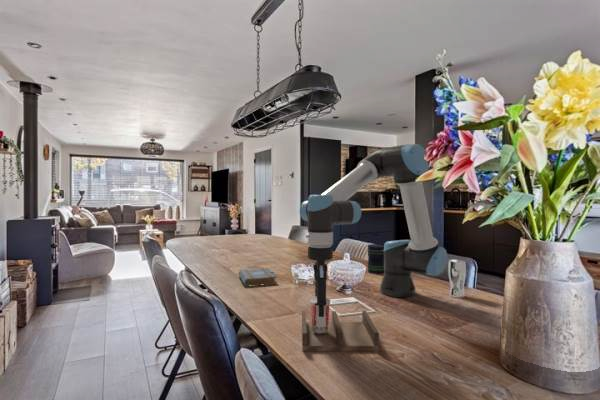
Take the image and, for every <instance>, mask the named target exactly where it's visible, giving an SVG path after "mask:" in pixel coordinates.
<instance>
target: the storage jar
mask: <svg viewBox="0 0 600 400" xmlns="http://www.w3.org/2000/svg"><path fill="white" fill-rule="evenodd" d="M367 257H368V258H367V273H369V274H372V273H373V275H384V274H383V273H384V244H378V243H377V244H376V243H375V244H374V243H373V244H372V243H371V244H368V245H367Z"/></svg>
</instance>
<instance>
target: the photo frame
mask: <svg viewBox="0 0 600 400" xmlns="http://www.w3.org/2000/svg"><path fill="white" fill-rule="evenodd" d="M329 300H330V305H329V311H331V312H332V311H336V310H335V309H334V308H332V307H331V306H336V305H345V304H355V303H358V304H360V305H361V306H363V307H365V308H367V309H368V310H367V311H366V310H365V311H366V312H367V314H373V313H376V310H375V309H373V308H372V307H370V306H368V305H367V304H366V303H363V302H362V301H360V300H358V299H357V298H356V297H353V296H351V297H342V298H341V297H340V298H333V299H329ZM336 313H337V316H338V318H342V317H347V316H356V315H362V311H359V312H349V313H343V314H342V313H339V312H338V311H336Z"/></svg>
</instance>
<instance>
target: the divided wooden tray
mask: <svg viewBox="0 0 600 400" xmlns="http://www.w3.org/2000/svg"><path fill="white" fill-rule="evenodd" d="M336 312H337V310H335V311H332V310H331V321H328V331H327V332H326V333H315V332H314V331H313V326H312V321H307V312H306V311H305V310H302V311H301V338H302V339H301V340H302V341H301V343H302V348H301V350H302V352H380V351H379V350H380V348H379V347H380V345H379V342H380V337H379V335H380V334H379V331H378V329H377V327H376V326H375V324H374V322H373V321H372V319H371V317H370V315H369V313H367V312H366V310H362V311H361V312H362V314H361V315H362V317H361V319H362V320H361V321H340V319H339V316H338V315H337V313H336Z"/></svg>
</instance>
